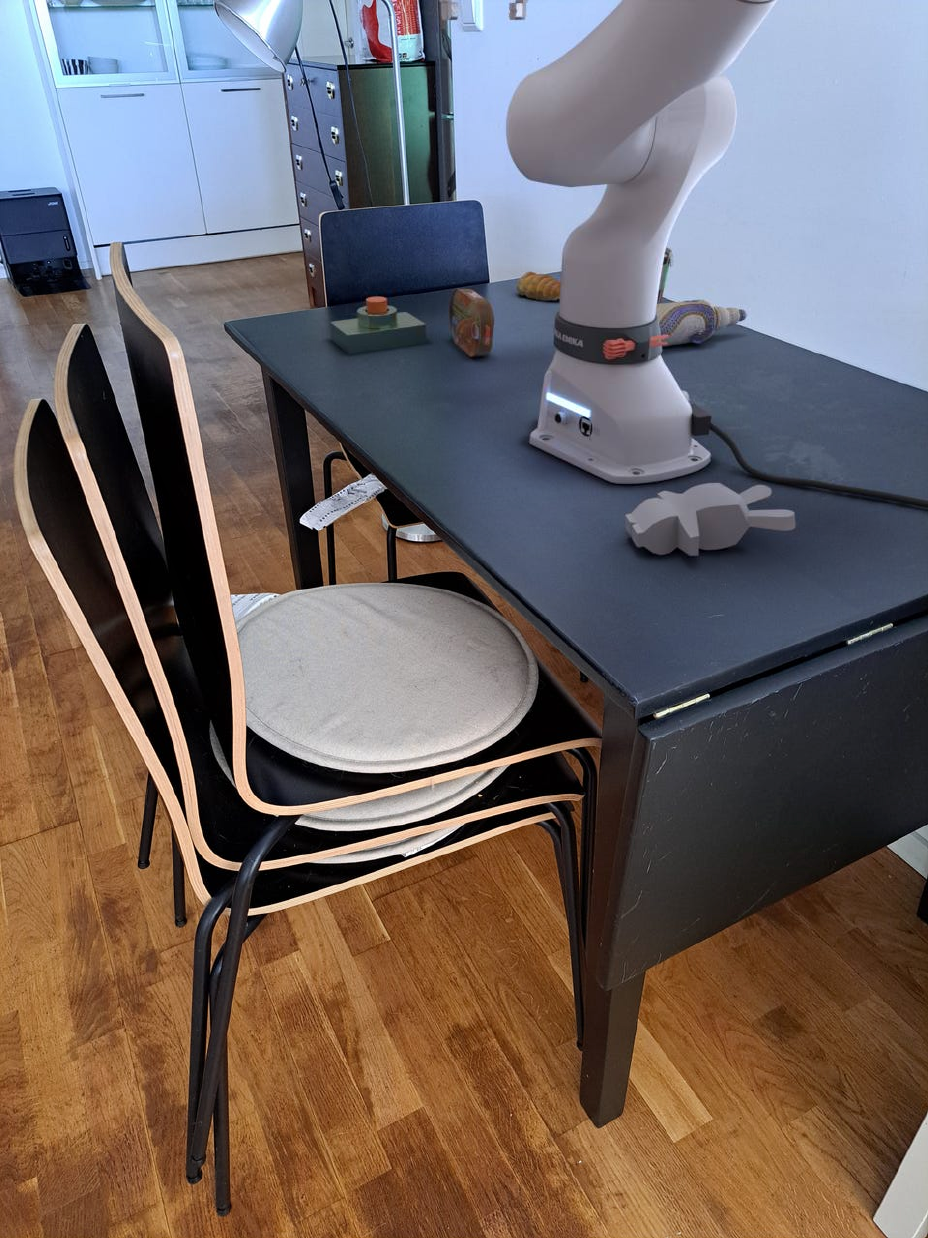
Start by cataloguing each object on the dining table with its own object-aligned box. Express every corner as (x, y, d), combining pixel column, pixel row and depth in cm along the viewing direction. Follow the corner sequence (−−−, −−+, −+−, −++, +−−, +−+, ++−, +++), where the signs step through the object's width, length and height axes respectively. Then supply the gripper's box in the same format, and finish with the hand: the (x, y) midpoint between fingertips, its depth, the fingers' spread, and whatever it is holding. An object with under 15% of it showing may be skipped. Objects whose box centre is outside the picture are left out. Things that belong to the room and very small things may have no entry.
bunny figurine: (616, 487, 88) (762, 461, 88) (617, 532, 90) (759, 506, 91) (646, 532, 80) (806, 503, 81) (646, 580, 83) (801, 551, 84)
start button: (390, 313, 138) (389, 300, 137) (371, 316, 137) (370, 302, 136) (382, 308, 140) (382, 295, 139) (363, 311, 139) (363, 297, 138)
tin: (447, 336, 143) (447, 282, 139) (466, 334, 144) (466, 280, 139) (476, 364, 132) (477, 306, 127) (496, 362, 132) (497, 304, 128)
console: (426, 343, 141) (425, 310, 138) (348, 354, 136) (346, 321, 133) (406, 330, 146) (405, 298, 144) (331, 340, 142) (329, 308, 139)
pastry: (574, 297, 163) (576, 276, 161) (550, 305, 159) (551, 283, 157) (536, 288, 169) (537, 267, 166) (512, 295, 165) (512, 274, 163)
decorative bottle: (618, 361, 132) (622, 316, 129) (593, 347, 138) (596, 303, 135) (758, 340, 141) (766, 297, 137) (729, 328, 147) (735, 286, 143)
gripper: (413, -134, 96) (417, 20, 104) (574, -124, 103) (566, 19, 111) (391, -127, 101) (396, 19, 108) (546, -118, 108) (541, 19, 116)
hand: (484, 19), depth 110 cm, fingers open, 8 cm apart
